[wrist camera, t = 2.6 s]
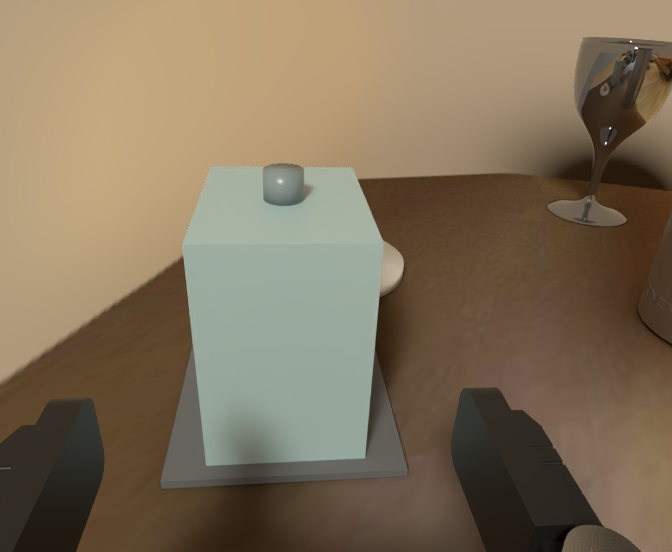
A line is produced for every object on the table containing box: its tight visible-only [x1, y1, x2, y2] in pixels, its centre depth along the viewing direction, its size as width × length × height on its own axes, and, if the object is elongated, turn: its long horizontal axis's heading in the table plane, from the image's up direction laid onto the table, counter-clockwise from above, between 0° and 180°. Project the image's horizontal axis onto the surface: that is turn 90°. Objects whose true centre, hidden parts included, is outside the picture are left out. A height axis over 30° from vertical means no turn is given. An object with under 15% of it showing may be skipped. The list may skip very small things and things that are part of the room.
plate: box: [379, 241, 404, 298], centre depth 39 cm, size 10×10×1 cm
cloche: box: [182, 164, 384, 466], centre depth 23 cm, size 7×9×11 cm
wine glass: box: [547, 37, 672, 227], centre depth 48 cm, size 8×8×15 cm
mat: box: [160, 346, 408, 489], centre depth 26 cm, size 10×10×1 cm
